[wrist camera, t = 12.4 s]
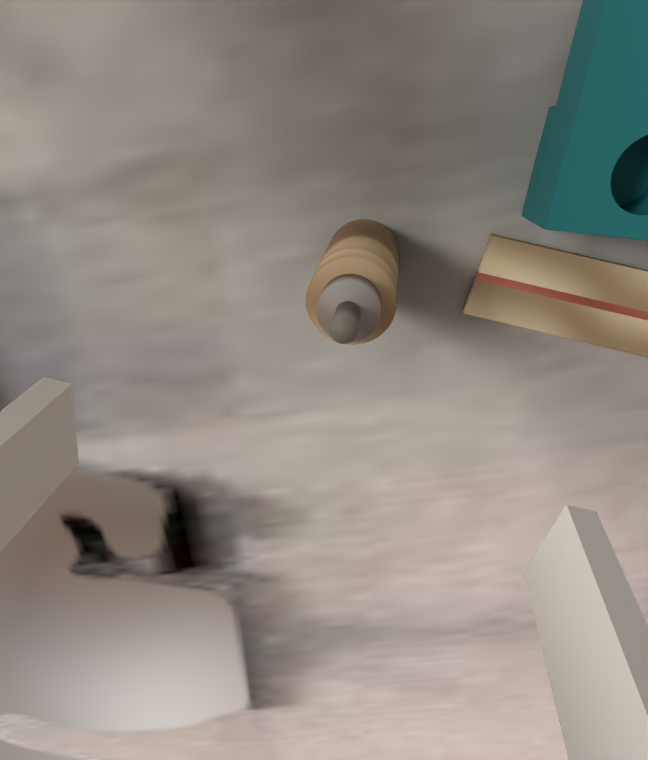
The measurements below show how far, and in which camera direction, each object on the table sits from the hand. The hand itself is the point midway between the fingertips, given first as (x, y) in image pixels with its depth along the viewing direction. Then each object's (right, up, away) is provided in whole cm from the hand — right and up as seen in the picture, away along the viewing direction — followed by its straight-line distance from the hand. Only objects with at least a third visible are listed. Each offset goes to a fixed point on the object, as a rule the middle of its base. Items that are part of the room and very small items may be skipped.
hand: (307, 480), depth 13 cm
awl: (+3, +10, +18) cm, 21 cm away
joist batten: (+18, +7, +17) cm, 26 cm away
